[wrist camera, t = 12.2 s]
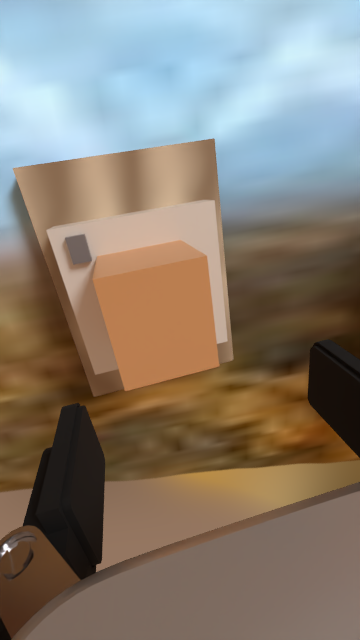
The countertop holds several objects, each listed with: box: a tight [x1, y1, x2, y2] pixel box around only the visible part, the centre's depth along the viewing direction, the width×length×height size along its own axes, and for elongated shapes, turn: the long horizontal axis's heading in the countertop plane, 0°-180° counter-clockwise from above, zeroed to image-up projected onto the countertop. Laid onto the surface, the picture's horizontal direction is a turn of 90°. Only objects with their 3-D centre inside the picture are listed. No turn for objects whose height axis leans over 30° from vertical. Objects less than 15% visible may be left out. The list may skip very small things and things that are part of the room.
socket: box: [46, 200, 228, 375], centre depth 26 cm, size 13×13×4 cm
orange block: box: [92, 240, 219, 391], centre depth 22 cm, size 7×8×9 cm
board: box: [13, 139, 233, 397], centre depth 28 cm, size 16×22×2 cm
